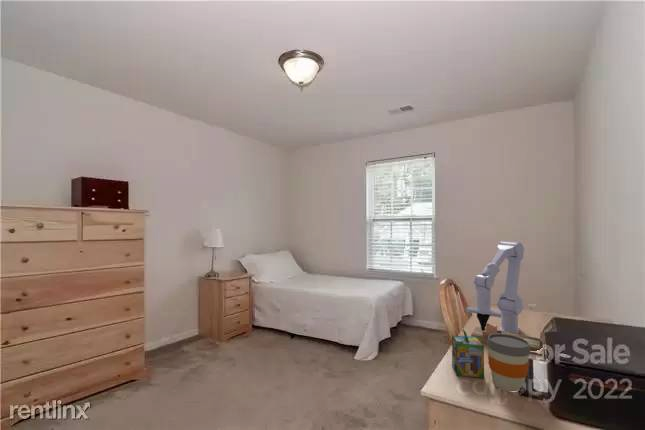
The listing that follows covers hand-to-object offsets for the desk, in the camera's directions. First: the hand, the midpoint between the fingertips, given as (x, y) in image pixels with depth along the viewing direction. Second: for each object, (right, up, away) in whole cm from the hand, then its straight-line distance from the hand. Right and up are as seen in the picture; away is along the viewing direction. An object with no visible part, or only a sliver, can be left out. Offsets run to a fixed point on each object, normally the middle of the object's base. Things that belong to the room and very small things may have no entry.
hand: (483, 330), depth 149 cm
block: (+3, -1, -2) cm, 4 cm away
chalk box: (-23, -3, -33) cm, 40 cm away
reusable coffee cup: (-13, -3, -42) cm, 44 cm away
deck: (+7, -4, -5) cm, 10 cm away
